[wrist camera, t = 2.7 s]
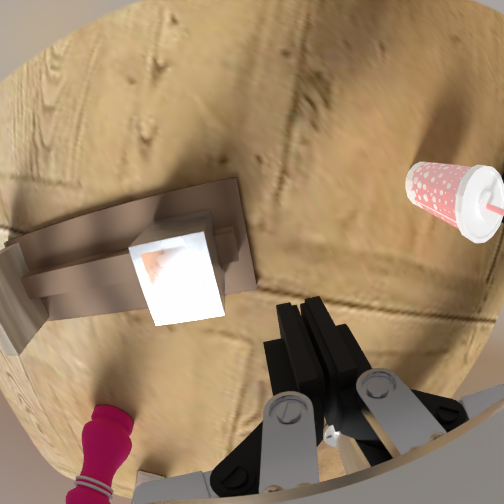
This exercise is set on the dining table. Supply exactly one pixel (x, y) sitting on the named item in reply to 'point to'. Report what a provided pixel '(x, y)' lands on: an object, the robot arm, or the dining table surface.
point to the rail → (107, 260)
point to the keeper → (180, 268)
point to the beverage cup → (459, 196)
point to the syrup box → (145, 478)
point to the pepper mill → (102, 455)
